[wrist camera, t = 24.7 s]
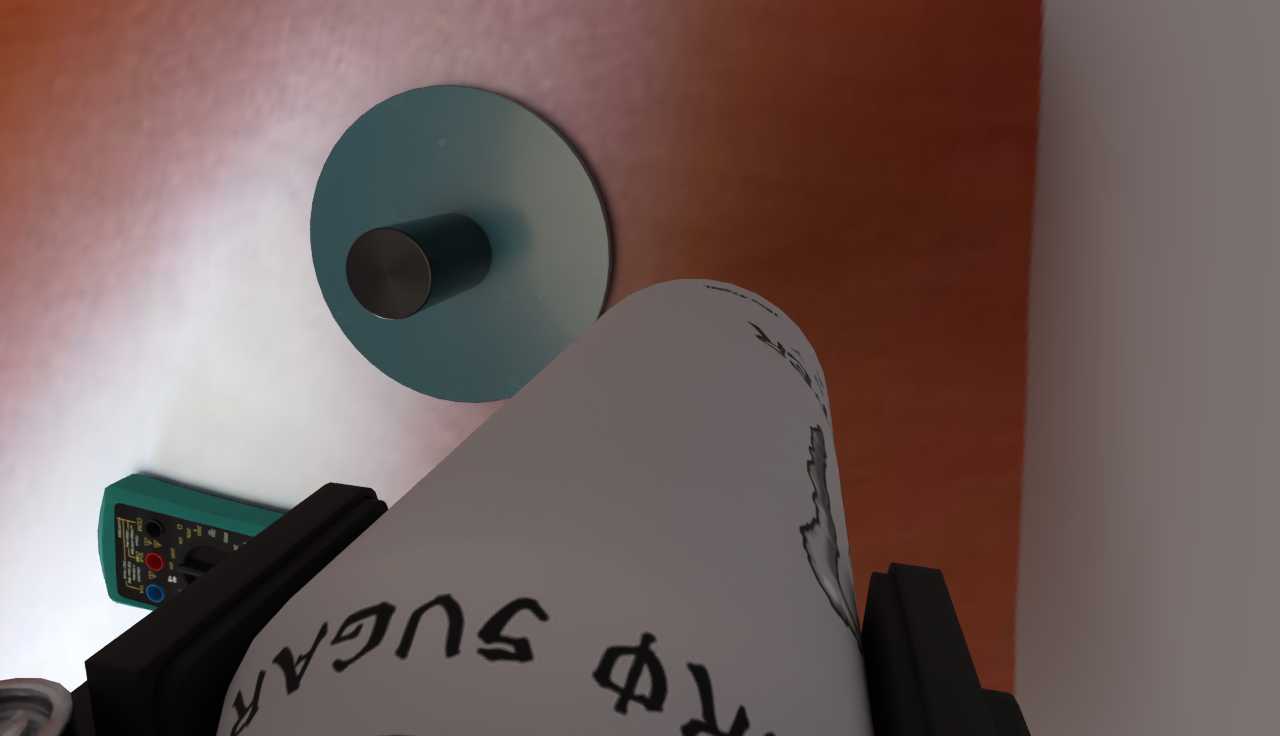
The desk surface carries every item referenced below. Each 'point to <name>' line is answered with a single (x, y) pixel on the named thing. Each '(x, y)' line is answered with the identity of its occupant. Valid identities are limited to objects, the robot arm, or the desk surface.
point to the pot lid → (459, 242)
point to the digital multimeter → (167, 537)
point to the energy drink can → (599, 556)
